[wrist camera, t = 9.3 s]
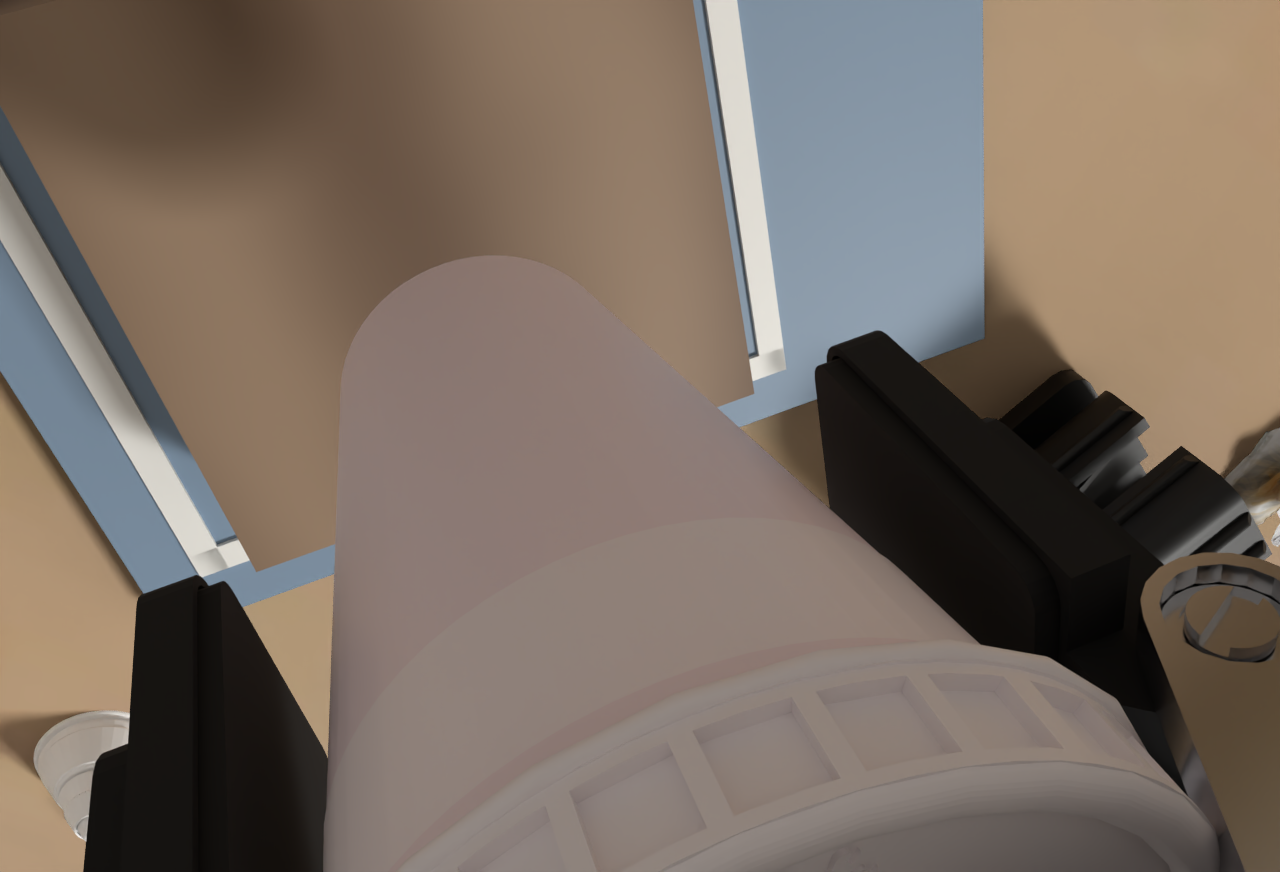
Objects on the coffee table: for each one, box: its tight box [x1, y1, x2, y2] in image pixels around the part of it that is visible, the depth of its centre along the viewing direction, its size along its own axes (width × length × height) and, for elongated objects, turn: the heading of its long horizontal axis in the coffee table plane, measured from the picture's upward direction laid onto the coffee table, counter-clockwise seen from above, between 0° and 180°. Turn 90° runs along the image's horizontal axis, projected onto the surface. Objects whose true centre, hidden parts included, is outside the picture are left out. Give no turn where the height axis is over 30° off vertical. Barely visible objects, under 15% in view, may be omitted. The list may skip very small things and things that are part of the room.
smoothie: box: [323, 255, 1220, 872], centre depth 9 cm, size 6×6×14 cm
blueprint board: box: [0, 0, 985, 607], centre depth 21 cm, size 20×16×1 cm
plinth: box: [0, 0, 754, 572], centre depth 19 cm, size 10×10×3 cm
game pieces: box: [33, 710, 130, 841], centre depth 25 cm, size 12×3×3 cm, turn 41°
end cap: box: [999, 370, 1272, 565], centre depth 30 cm, size 10×7×7 cm
